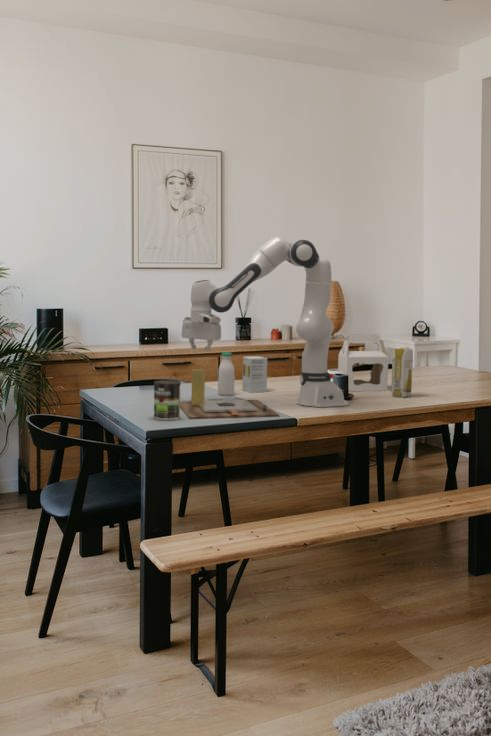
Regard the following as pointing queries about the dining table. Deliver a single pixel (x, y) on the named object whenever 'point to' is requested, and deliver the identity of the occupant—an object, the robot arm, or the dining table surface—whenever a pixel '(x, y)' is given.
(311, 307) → the robot arm
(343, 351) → the gable box
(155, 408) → the coffee can
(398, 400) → the dining table surface
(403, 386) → the juice carton
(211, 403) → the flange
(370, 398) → the dining table surface
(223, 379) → the milk bottle
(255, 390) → the supplement box
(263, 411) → the base board
